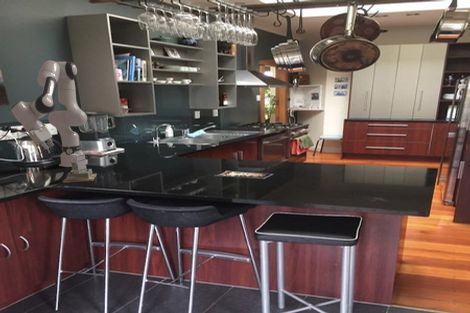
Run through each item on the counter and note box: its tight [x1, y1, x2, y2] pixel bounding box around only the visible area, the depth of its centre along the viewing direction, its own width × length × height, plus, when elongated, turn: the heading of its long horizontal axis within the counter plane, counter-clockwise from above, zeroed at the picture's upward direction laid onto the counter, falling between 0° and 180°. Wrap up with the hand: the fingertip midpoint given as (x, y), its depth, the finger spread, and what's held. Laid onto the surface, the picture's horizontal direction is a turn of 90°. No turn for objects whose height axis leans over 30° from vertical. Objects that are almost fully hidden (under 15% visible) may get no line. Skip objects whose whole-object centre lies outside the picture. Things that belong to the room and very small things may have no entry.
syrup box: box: [71, 152, 87, 174], centre depth 197 cm, size 6×6×14 cm
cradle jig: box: [62, 168, 98, 184], centre depth 198 cm, size 14×16×4 cm
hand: (50, 147), depth 195 cm, fingers open, 8 cm apart
